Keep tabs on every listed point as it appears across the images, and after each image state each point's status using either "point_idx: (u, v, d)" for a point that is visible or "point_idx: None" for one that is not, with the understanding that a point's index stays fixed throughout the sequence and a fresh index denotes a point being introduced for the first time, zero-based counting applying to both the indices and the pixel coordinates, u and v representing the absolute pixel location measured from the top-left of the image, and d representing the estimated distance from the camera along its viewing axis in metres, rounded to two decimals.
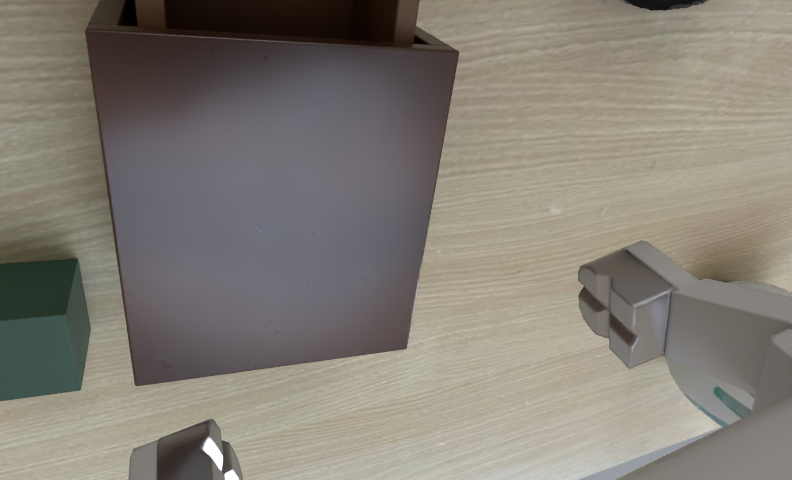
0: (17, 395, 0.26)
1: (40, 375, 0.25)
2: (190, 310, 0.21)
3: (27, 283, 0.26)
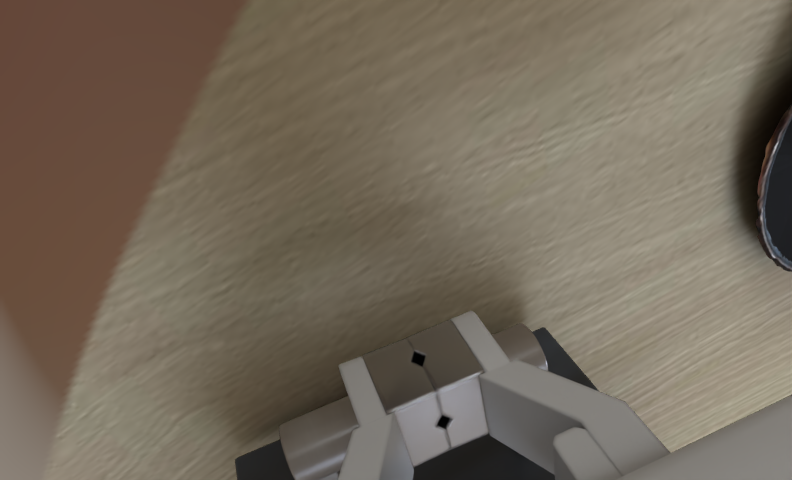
0: None
1: None
2: None
3: None
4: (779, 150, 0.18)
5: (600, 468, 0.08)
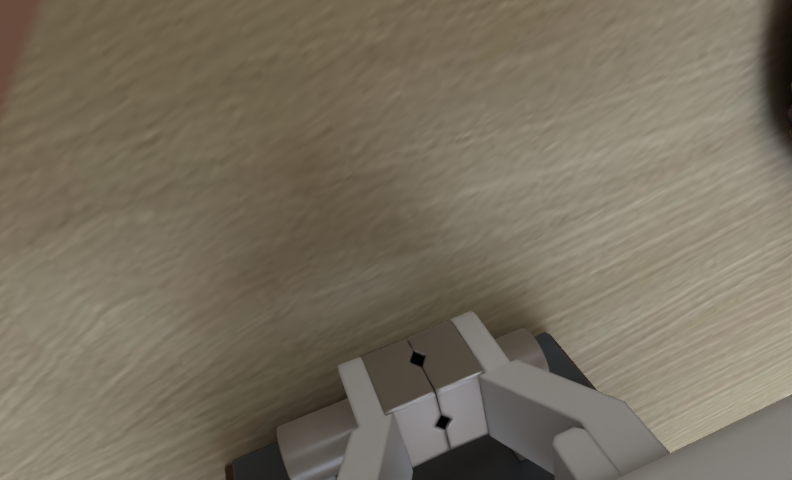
0: None
1: None
2: None
3: None
4: None
5: (600, 468, 0.08)
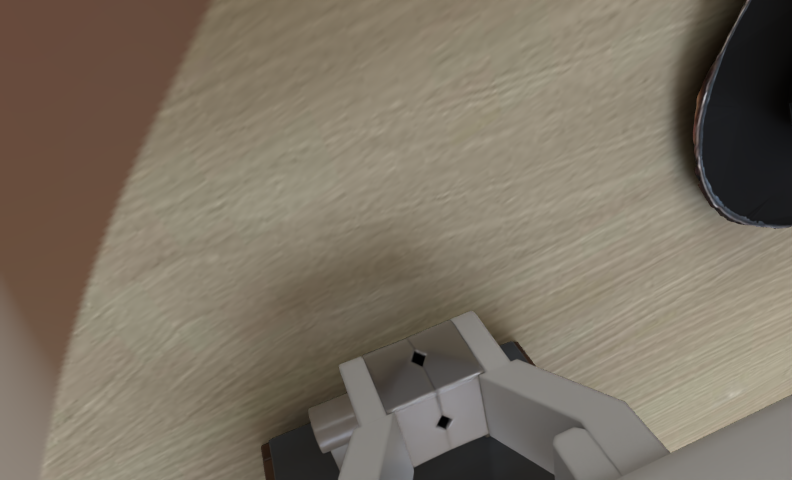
0: None
1: None
2: None
3: None
4: (709, 101, 0.20)
5: (600, 468, 0.08)
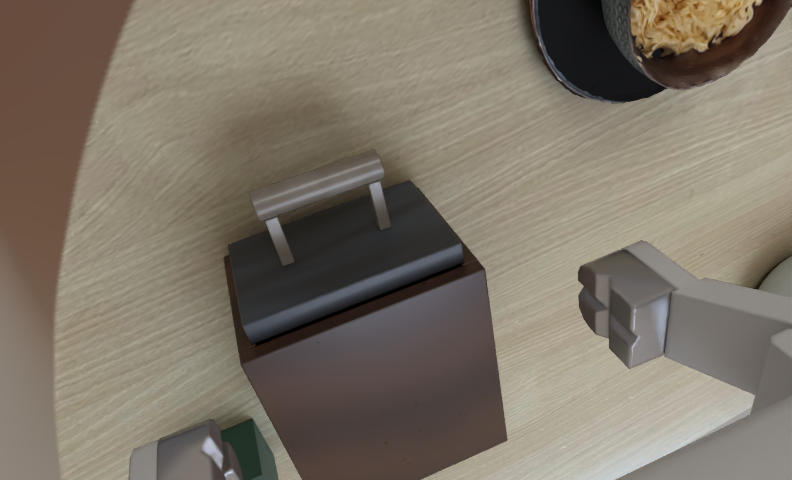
0: None
1: None
2: (347, 472, 0.30)
3: None
4: None
5: None
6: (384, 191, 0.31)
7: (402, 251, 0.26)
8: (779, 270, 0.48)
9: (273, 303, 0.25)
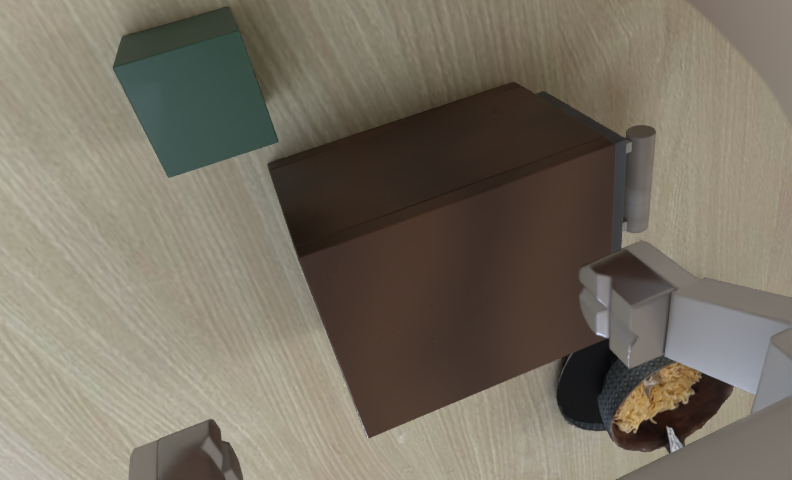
0: (145, 118, 0.21)
1: (184, 135, 0.21)
2: (397, 271, 0.23)
3: None
4: None
5: None
6: None
7: None
8: None
9: None
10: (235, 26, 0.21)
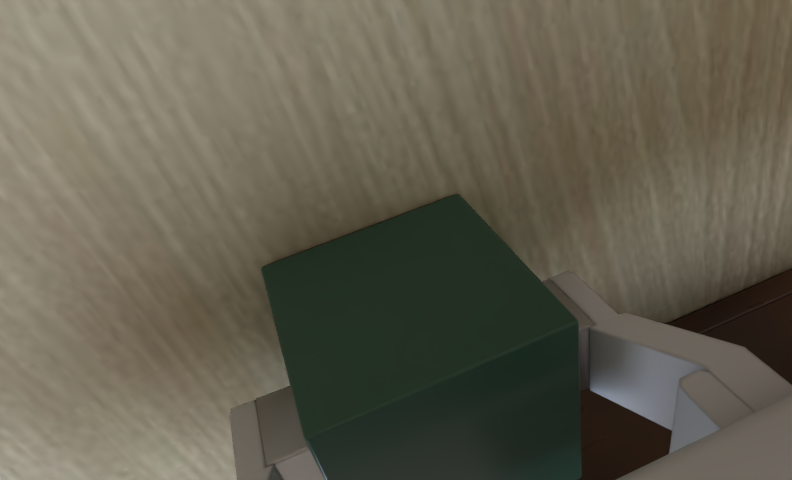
0: None
1: None
2: None
3: None
4: None
5: (731, 405, 0.08)
6: None
7: None
8: None
9: None
10: (552, 296, 0.09)
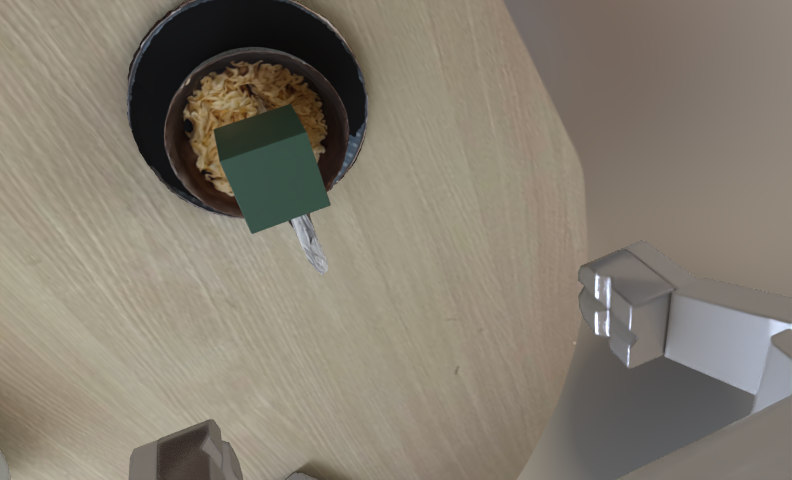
0: (238, 193, 0.29)
1: (264, 204, 0.30)
2: None
3: None
4: (218, 1, 0.32)
5: None
6: None
7: None
8: None
9: None
10: (302, 127, 0.29)
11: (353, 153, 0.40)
